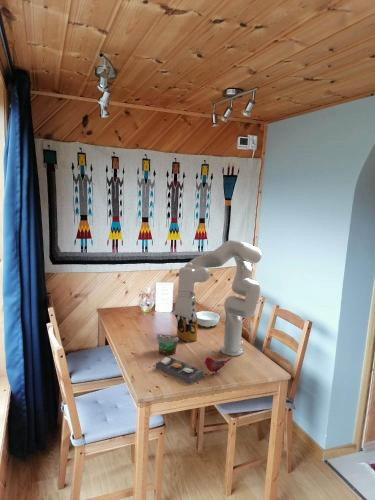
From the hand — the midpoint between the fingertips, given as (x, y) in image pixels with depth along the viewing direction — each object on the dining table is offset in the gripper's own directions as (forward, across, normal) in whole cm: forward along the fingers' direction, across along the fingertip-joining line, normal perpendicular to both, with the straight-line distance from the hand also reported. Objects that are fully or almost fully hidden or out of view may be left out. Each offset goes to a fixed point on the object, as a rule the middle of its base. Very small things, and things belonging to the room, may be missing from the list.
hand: (183, 329), depth 180 cm
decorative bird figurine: (+22, -14, -10) cm, 28 cm away
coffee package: (+22, +24, -34) cm, 47 cm away
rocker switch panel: (+21, 0, +2) cm, 21 cm away
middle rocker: (+17, 0, +4) cm, 18 cm away
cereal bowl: (+22, +30, -62) cm, 72 cm away
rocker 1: (+17, +7, +4) cm, 19 cm away
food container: (+22, +19, -9) cm, 30 cm away
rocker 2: (+17, -7, +4) cm, 19 cm away
